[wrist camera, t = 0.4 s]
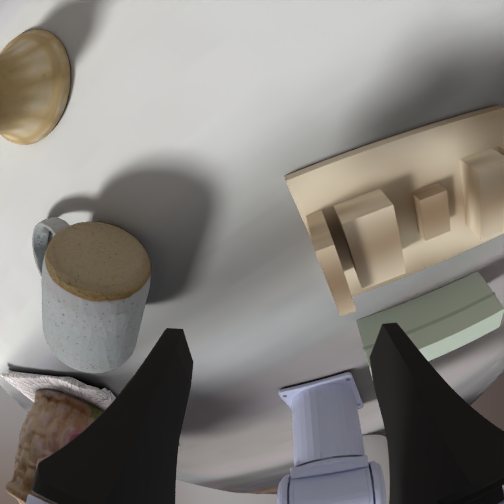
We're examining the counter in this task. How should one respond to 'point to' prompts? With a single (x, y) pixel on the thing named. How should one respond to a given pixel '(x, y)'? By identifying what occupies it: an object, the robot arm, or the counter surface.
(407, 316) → the glasses case
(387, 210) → the display stand
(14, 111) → the hand bell
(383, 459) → the canister
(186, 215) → the counter surface
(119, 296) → the ceramic mug
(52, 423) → the cookie jar
